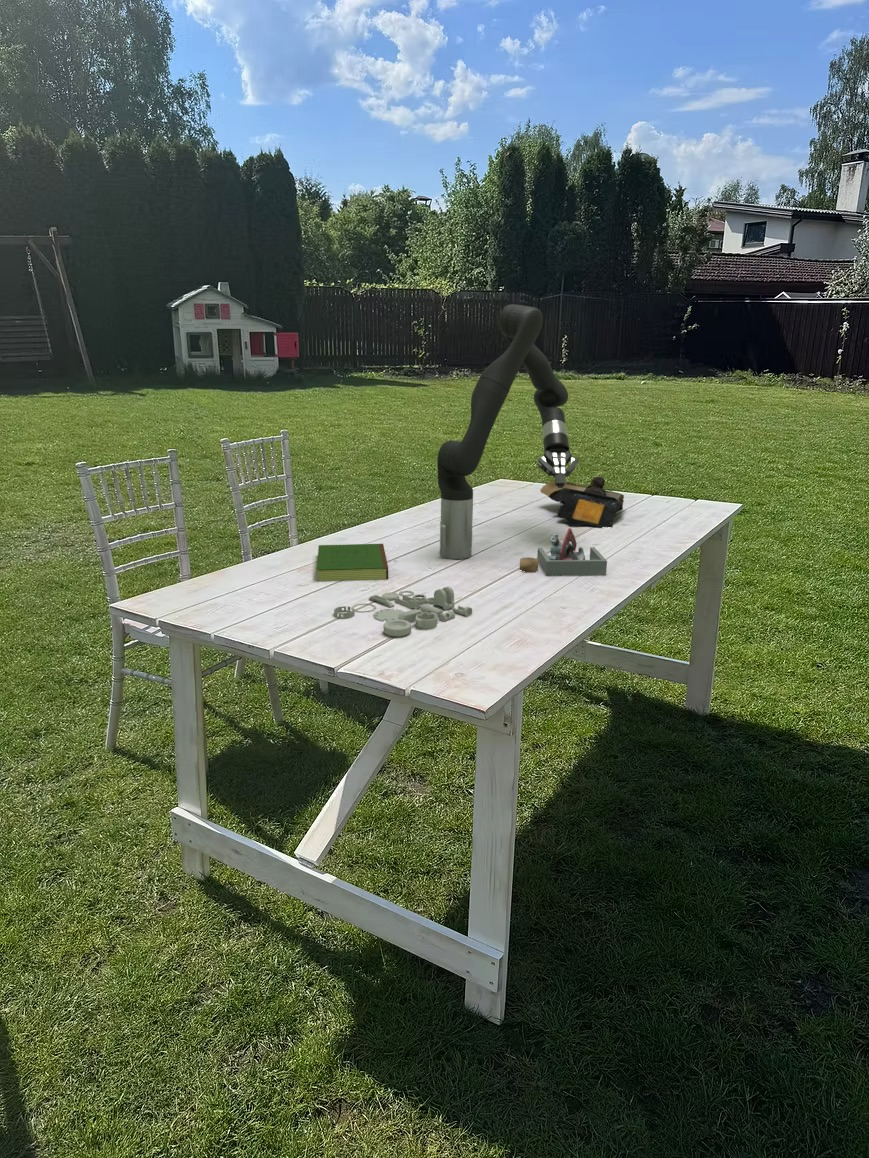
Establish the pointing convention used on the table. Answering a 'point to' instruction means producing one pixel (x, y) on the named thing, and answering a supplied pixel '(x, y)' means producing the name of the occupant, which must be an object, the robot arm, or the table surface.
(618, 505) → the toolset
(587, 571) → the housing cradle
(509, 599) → the table surface
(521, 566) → the tan rounded lump
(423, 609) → the robot parts
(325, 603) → the table surface
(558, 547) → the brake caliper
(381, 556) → the hardcover book
